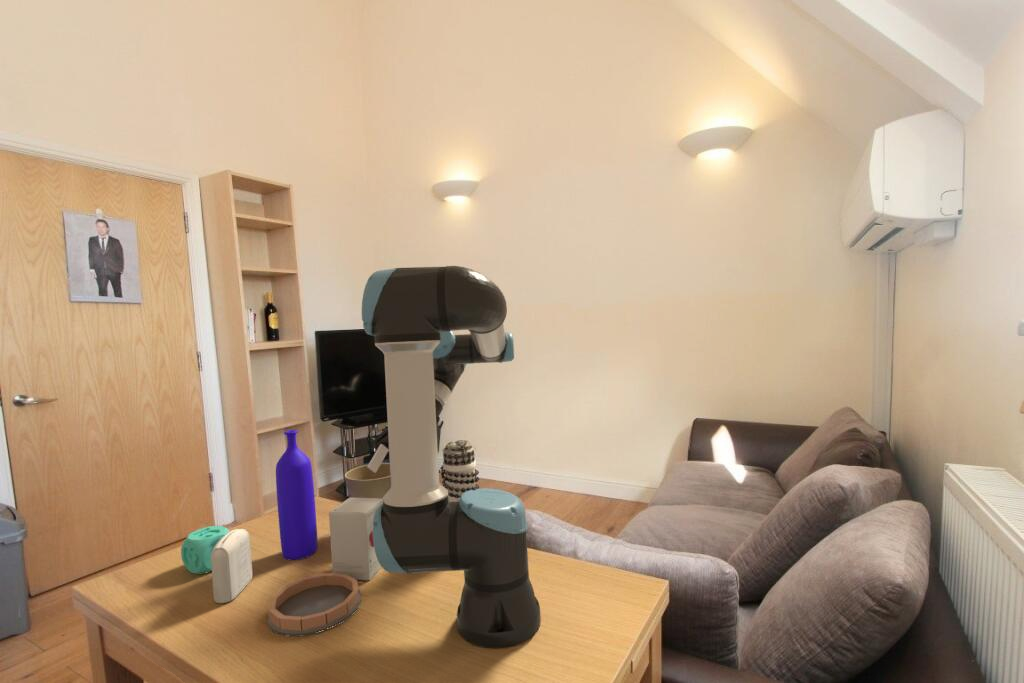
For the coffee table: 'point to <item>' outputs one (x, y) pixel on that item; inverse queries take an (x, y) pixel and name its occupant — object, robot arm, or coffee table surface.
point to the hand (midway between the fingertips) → (389, 474)
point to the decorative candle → (459, 469)
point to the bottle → (296, 502)
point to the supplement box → (354, 538)
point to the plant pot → (368, 481)
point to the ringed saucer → (314, 604)
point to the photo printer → (231, 565)
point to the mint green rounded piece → (201, 548)
